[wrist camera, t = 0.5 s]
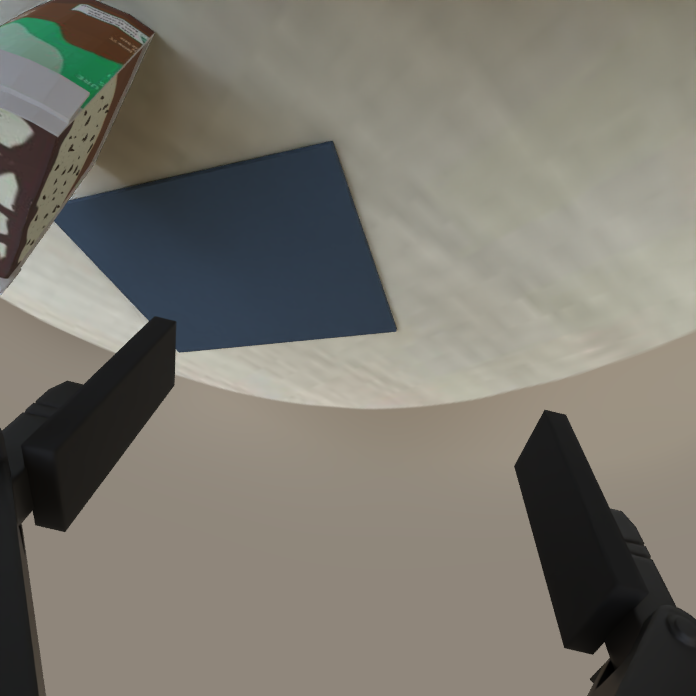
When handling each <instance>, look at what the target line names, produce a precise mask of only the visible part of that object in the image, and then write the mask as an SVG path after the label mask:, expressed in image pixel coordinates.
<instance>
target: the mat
mask: <svg viewBox="0 0 696 696" xmlns="http://www.w3.org/2000/svg"><path fill="white" fill-rule="evenodd" d="M54 221H55V223H56V224H57V225H58V226H59V227H60V228H61V229H62V230H63V231H64V232H65V233H66V234H67V235H68V236H69V237H70V238H71V239H72V240H73V241H74V243H75V244H76V245H77V246H78V247H79V248H80V249H81V250H82V251H83V252H84V253H85V254H86V255H87V256H88V257H89V258H90V259H91V260H92V261H93V262H94V264H95V265H96V266H97V267H98V268H99V269H100V270H101V271H102V272H103V273H104V274H105V275H106V276H107V277H108V278H109V279H110V280H111V281H112V282H113V284H114V285H115V286H116V287H117V288H118V289H119V290H120V291H121V292H122V293H123V294H124V295H125V296H126V297H127V298H128V299H129V300H130V301H131V302H132V303H133V305H134V306H135V307H136V308H137V309H138V310H139V311H140V312H141V313H142V314H143V315H144V316H145V317H146V318H147V319H148V320H149V321H150V320H151V319H152V318H153V317H154V316H157V317H161V318H165V319H169V320H173V321H176V350H177V351H178V352H179V353H180V352H190V351H200V350H211V349H221V348H232V347H242V346H252V345H263V344H273V343H283V342H294V341H304V340H314V339H325V338H335V337H346V336H356V335H366V334H377V333H387V332H396V330H397V328H396V325H395V322H394V319H393V316H392V313H391V310H390V307H389V304H388V301H387V298H386V295H385V292H384V290H383V287H382V284H381V281H380V278H379V275H378V272H377V269H376V266H375V263H374V260H373V257H372V254H371V252H370V249H369V246H368V243H367V240H366V237H365V234H364V231H363V228H362V225H361V222H360V219H359V216H358V214H357V211H356V208H355V205H354V202H353V199H352V196H351V193H350V190H349V187H348V184H347V181H346V178H345V175H344V173H343V170H342V167H341V164H340V161H339V158H338V155H337V152H336V149H335V146H334V143H333V141H329V142H325V143H321V144H316V145H312V146H307V147H303V148H299V149H294V150H290V151H285V152H281V153H277V154H272V155H268V156H263V157H259V158H254V159H250V160H246V161H241V162H237V163H232V164H228V165H224V166H219V167H215V168H210V169H206V170H202V171H197V172H193V173H188V174H184V175H180V176H175V177H171V178H166V179H162V180H158V181H153V182H149V183H144V184H140V185H136V186H131V187H127V188H122V189H118V190H113V191H109V192H105V193H100V194H96V195H91V196H87V197H83V198H78V199H74V200H69V201H68V202H67V203H66V204H65V206H64V207H63V209H62V210H61V212H60V213H59V214H58V216H57V217H56V219H55V220H54Z"/></svg>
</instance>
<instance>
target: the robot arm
mask: <svg viewBox="0 0 696 696" xmlns="http://www.w3.org/2000/svg"><path fill="white" fill-rule="evenodd" d="M175 351H176V321H173V320H169V319H165V318H161V317H157V316H154V317H153V318H152V319H151V320H150V321H149V322H148V323H147V324H146V325H145V326H144V327H143V328H142V329H141V330H140V331H139V332H138V333H137V334H136V335H135V336H134V337H132V338H131V339H130V340H129V341H128V342H127V343H126V344H125V345H124V346H123V347H122V348H121V349H120V350H119V351H118V352H117V353H116V354H115V355H114V356H113V357H112V358H111V359H110V360H109V361H108V362H107V363H105V364H104V365H103V367H101V368H100V369H99V370H98V371H97V372H96V373H95V374H94V375H93V376H92V377H91V378H90V379H89V380H88V381H87V382H86V383H85V384H84V385H83V384H79V383H74V382H70V381H66V382H64V383H62V384H59V385H57V386H55V387H53V388H51V389H49V390H48V391H47V392H45V393H44V394H43V395H42V396H41V397H40V398H39V399H38V400H37V401H36V403H33V404H32V405H31V406H30V407H28V408H27V409H26V411H25V413H22V414H20V415H19V416H18V417H17V418H16V419H15V420H14V421H13V422H11V423H10V424H9V425H8V426H7V427H6V428H5V429H3V430H1V428H0V696H46V693H45V686H44V679H43V672H42V665H41V657H40V650H39V643H38V636H37V629H36V622H35V614H34V607H33V601H32V593H31V586H30V578H29V571H28V564H27V557H26V550H25V543H24V535H23V529H22V524H21V523H22V522H23V521H24V520H25V518H26V517H27V516H28V515H29V514H30V513H31V511H32V510H33V515H34V519H35V525H37V526H41V527H46V528H50V529H54V530H59V531H63V532H65V531H66V530H67V529H68V527H69V526H70V525H71V523H72V522H73V521H74V519H75V518H76V517H77V515H78V514H79V513H80V511H81V510H82V509H83V507H84V506H85V504H86V503H87V502H88V500H89V499H90V498H91V496H92V495H93V493H94V492H95V491H96V489H97V488H98V487H99V486H100V484H101V483H102V482H103V480H104V479H105V478H106V476H107V475H108V474H109V472H110V471H111V470H112V468H113V467H114V466H115V464H116V463H117V462H118V460H119V459H120V458H121V456H122V455H123V454H124V452H125V451H126V449H127V448H128V447H129V445H130V444H131V443H132V441H133V440H134V439H135V437H136V436H137V434H138V433H139V432H140V431H141V429H142V428H143V427H144V425H145V424H146V423H147V421H148V420H149V419H150V417H151V416H152V414H153V413H154V412H155V410H156V409H157V408H158V406H159V405H160V404H161V402H162V401H163V400H164V398H165V397H166V396H167V394H168V393H169V392H170V390H171V389H172V388H173V386H174V380H175V379H174V378H175ZM514 467H515V471H516V474H517V478H518V482H519V485H520V489H521V492H522V496H523V500H524V503H525V507H526V511H527V514H528V518H529V521H530V525H531V529H532V532H533V536H534V540H535V543H536V547H537V551H538V554H539V558H540V561H541V565H542V569H543V572H544V576H545V580H546V583H547V586H548V590H549V594H550V597H551V601H552V605H553V609H554V612H555V616H556V620H557V623H558V627H559V630H560V634H561V638H562V641H563V645H564V648H567V649H571V650H576V651H579V652H584V653H588V654H594V653H595V652H596V651H597V650H598V648H599V647H600V646H601V645H602V644H603V643H604V642H605V644H606V647H607V650H608V653H609V656H610V658H609V659H608V660H607V662H606V663H605V664H604V665H603V666H602V667H601V668H600V669H599V670H598V671H597V672H596V673H595V674H594V675H593V676H592V677H591V678H590V680H591V681H592V682H593V683H594V684H593V686H592V688H591V689H590V692H589V693H588V695H587V696H696V619H695V618H693V617H692V616H691V615H689V614H688V613H686V612H685V611H683V610H682V609H680V608H677V607H676V605H675V603H674V601H673V599H672V597H671V595H670V593H669V591H668V590H667V587H666V586H665V583H664V582H663V579H662V577H661V575H660V574H659V572H658V570H657V568H656V566H655V564H654V562H653V560H651V559H650V557H651V556H650V554H649V552H648V550H647V548H646V546H644V542H643V540H642V538H641V536H640V534H639V532H638V530H637V528H636V527H635V526H634V524H633V523H632V522H631V521H630V520H629V519H628V518H627V517H626V515H625V514H624V513H623V512H622V511H618V510H614V509H610V508H609V506H608V504H607V502H606V499H605V497H604V495H603V493H602V491H601V489H600V487H599V484H598V482H597V480H596V478H595V476H594V474H593V472H592V469H591V468H590V465H589V463H588V461H587V459H586V457H585V455H584V452H583V450H582V448H581V446H580V444H579V442H578V440H577V437H576V435H575V433H574V431H573V429H572V427H571V425H570V423H569V421H568V418H567V416H566V415H565V414H560V413H556V412H552V411H548V410H544V412H543V414H542V416H541V418H540V419H539V421H538V423H537V425H536V427H535V429H534V431H533V432H532V434H531V436H530V438H529V440H528V442H527V443H526V445H525V447H524V449H523V451H522V453H521V455H520V456H519V458H518V460H517V462H516V464H515V466H514Z"/></svg>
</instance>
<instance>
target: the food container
mask: <svg viewBox="0 0 696 696" xmlns="http://www.w3.org/2000/svg"><path fill="white" fill-rule="evenodd" d="M154 33H155V32H154V31H152V30H151V29H150V28H148V27H147V26H145V25H144V24H142V23H141V22H140V21H138V20H137V19H135V18H134V17H133V16H131V15H130V14H127V13H125V12H122V11H120V10H118V9H115V8H113V7H110V6H108V5H105V4H103V3H101V2H98V1H96V0H53V1H50V2H47V3H45V4H42V5H39V6H37V7H35V8H33V9H31V10H29V11H27V12H25V13H23V14H22V15H20V16H18V17H16V18H14V19H12V20H10V21H9V22H7V23H5V24H3V25H1V26H0V295H2V293H3V292H4V291H5V289H6V288H8V286H9V285H10V284H11V283H12V281H13V280H14V279H15V277H16V276H17V275H18V274H19V272H20V271H21V267H22V265H23V264H24V262H25V261H26V260H27V258H28V257H29V255H30V254H31V253H32V251H33V250H34V248H35V247H36V245H37V244H38V243H39V241H40V240H41V238H42V237H43V236H44V234H45V233H46V231H47V230H48V229H49V227H50V226H51V224H52V223H53V221H54V220H55V219H56V217H57V216H58V214H59V213H60V212H61V210H62V209H63V207H64V206H65V204H66V203H67V202H68V200H69V199H70V197H71V196H72V195H73V193H74V192H75V190H76V189H77V187H78V186H79V185H80V183H81V182H82V180H83V179H84V178H85V176H86V175H87V173H88V172H89V171H90V169H91V168H92V166H93V165H94V163H95V162H96V159H97V157H98V155H99V153H100V151H101V149H102V146H103V144H104V142H105V140H106V138H107V135H108V133H109V131H110V129H111V127H112V125H113V122H114V120H115V118H116V116H117V114H118V111H119V109H120V107H121V105H122V103H123V101H124V98H125V96H126V94H127V92H128V90H129V87H130V85H131V83H132V81H133V79H134V77H135V74H136V72H137V70H138V68H139V66H140V63H141V61H142V59H143V57H144V55H145V53H146V50H147V48H148V46H149V44H150V42H151V40H152V37H153V35H154Z"/></svg>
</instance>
